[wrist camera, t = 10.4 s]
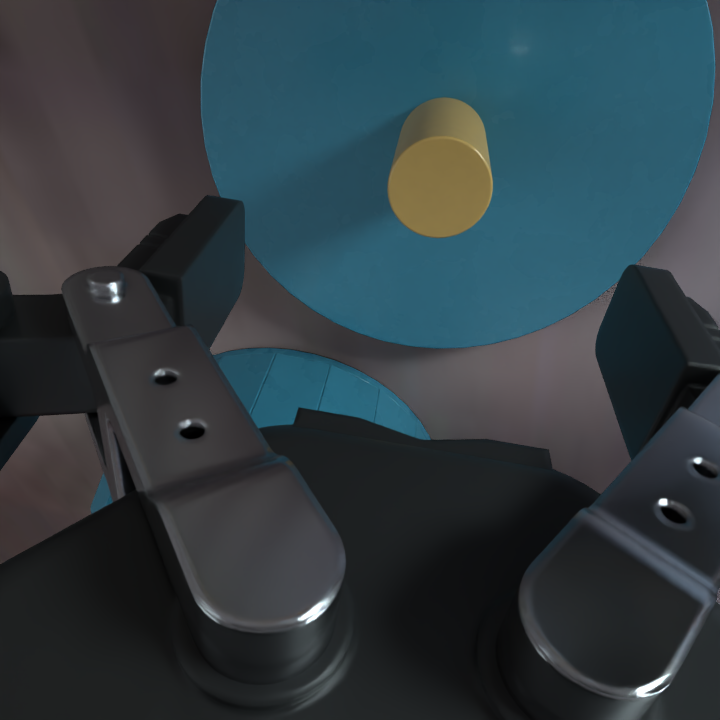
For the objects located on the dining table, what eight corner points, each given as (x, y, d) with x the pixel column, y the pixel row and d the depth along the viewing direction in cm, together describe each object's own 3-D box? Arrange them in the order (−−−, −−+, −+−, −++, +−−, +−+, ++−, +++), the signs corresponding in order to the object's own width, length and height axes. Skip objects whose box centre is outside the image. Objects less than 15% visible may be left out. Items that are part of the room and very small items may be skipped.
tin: (502, 440, 28) (511, 536, 24) (354, 598, 37) (340, 691, 32) (196, 290, 26) (142, 365, 21) (113, 497, 34) (62, 582, 30)
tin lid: (830, 21, 18) (959, 53, 13) (504, 393, 27) (514, 488, 22) (333, -331, 15) (280, -443, 11) (155, 216, 24) (85, 283, 20)
